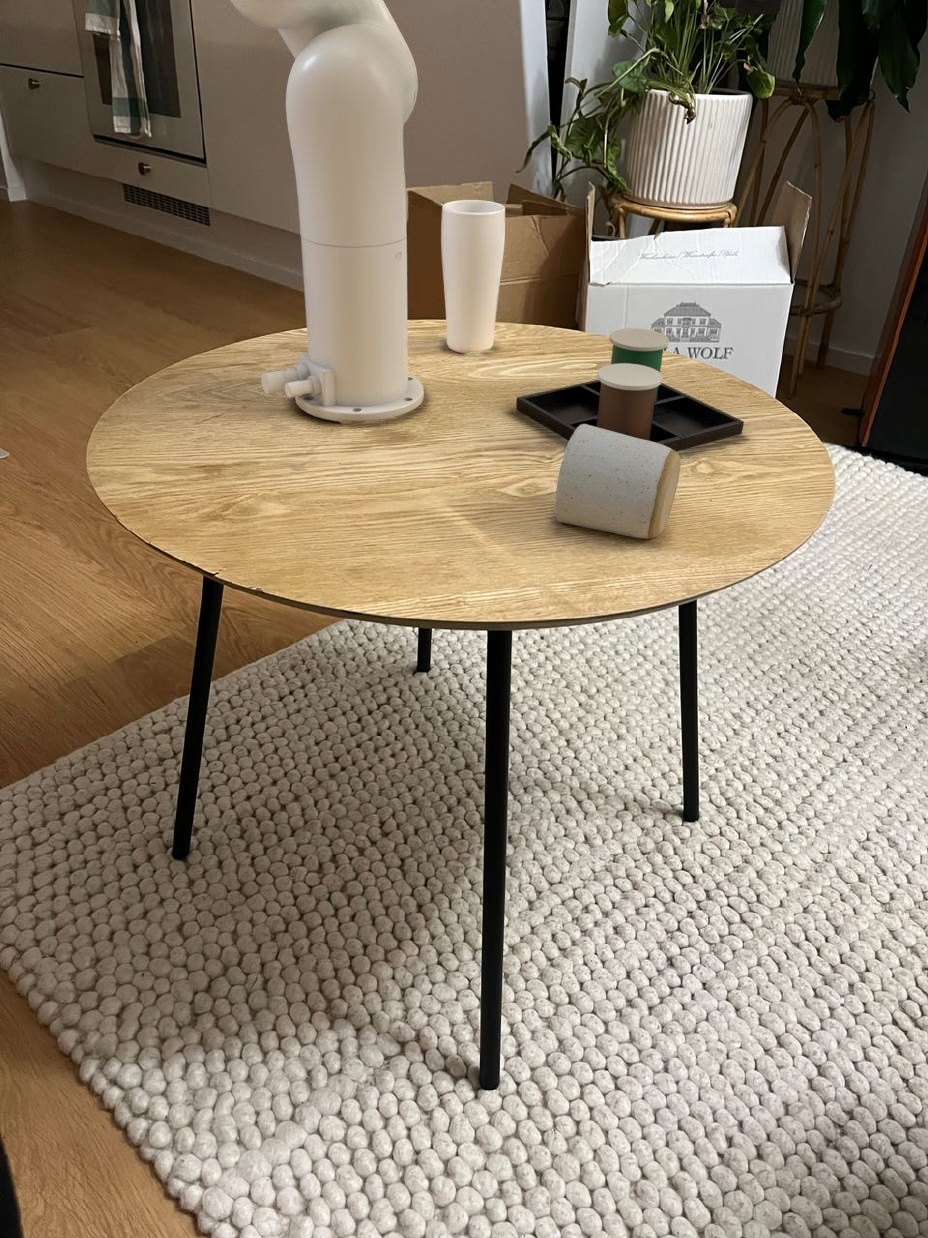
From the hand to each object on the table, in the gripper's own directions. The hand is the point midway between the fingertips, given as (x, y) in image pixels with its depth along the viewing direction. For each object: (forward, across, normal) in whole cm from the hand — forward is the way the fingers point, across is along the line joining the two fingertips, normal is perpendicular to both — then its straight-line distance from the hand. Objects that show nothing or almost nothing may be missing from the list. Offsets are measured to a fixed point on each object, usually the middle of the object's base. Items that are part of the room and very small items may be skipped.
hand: (746, 10), depth 78 cm
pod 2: (+33, +8, -7) cm, 35 cm away
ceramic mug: (+34, +22, -8) cm, 41 cm away
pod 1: (+33, -2, -5) cm, 34 cm away
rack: (+34, +3, -6) cm, 34 cm away
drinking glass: (+34, -17, -22) cm, 44 cm away
